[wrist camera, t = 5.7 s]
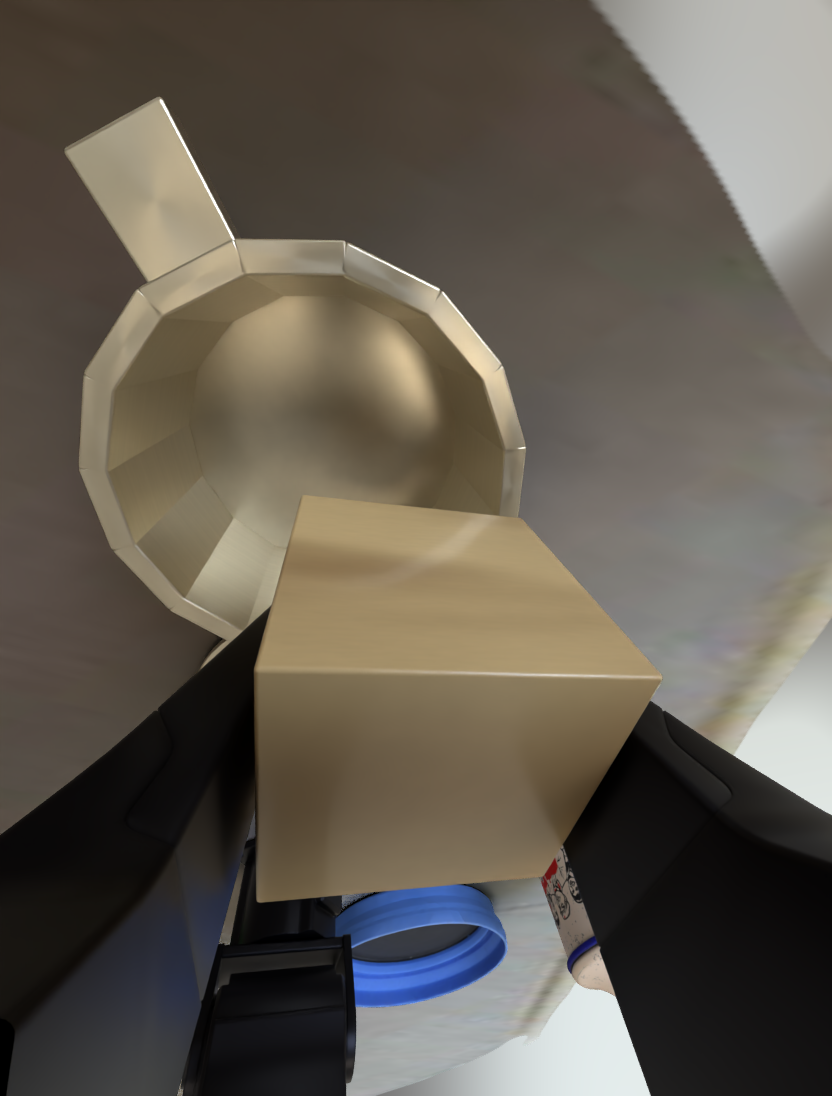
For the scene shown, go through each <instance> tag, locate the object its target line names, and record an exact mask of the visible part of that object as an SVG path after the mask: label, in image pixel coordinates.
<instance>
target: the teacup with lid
mask: <svg viewBox="0 0 832 1096" xmlns="http://www.w3.org/2000/svg"><path fill="white" fill-rule="evenodd" d="M540 880H541V883H542V886H543V889H544V892H545V895H546V897H547V900H548V903H549V906H550V909H551V912H552V914H553V917H554V920H555V923H556V926H557V929H558V932H559V934H560V937H561V940H562V943H563V946H564V949H565V952H566V954H567V957H568V961H567V967H568V970H569V972H570V973H571V974H572V976H573V978H574V980H575V981H576V982H577V983H578V984H579V985H581V986H582V987H584V988H588V989H595V990H603V991H606V992H608V993H610V994H612V995H614V996H615V993H614V990H613V987H612V984H611V982H610V979H609V976H608V973H607V970H606V967H605V965H604V962H603V959H602V956H601V953H600V948H601V947H599V946H598V944H597V941H596V938H595V935H594V933H593V930H592V927H591V924H590V921H589V919H588V916H587V913H586V910H585V907H584V904H583V902H582V899H581V896H580V893H579V890H578V887H577V885H576V882H575V879H574V876H573V873H572V870H571V868H570V865H569V862H568V859H567V856H566V854H565V851H564V848H563V845H562V847H561V848H560V850H559V852H558V853H557V855H556V857H555V858H554V860H553V862H552V863H551V865H550V867H549V868H548V870H547V871H546V873H545V875H544V876H543V877H540Z"/></svg>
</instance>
